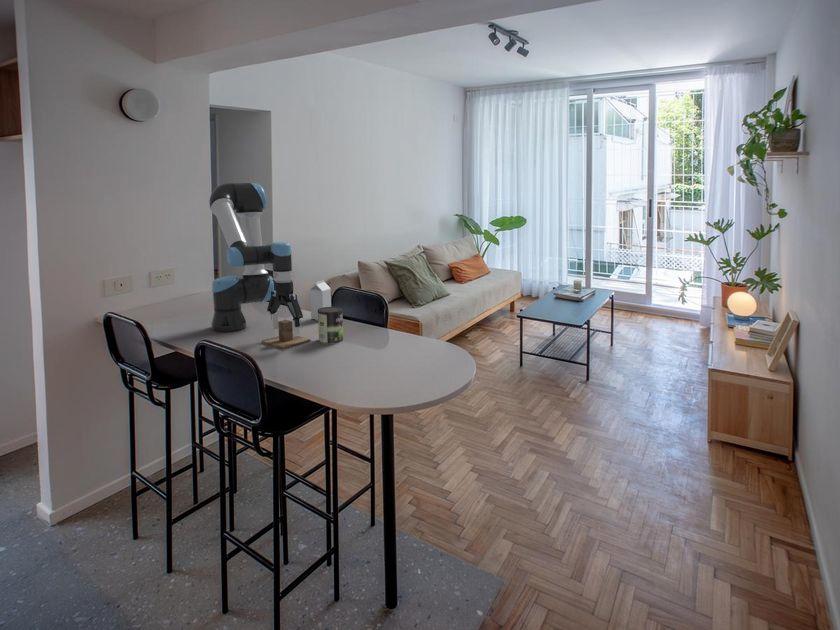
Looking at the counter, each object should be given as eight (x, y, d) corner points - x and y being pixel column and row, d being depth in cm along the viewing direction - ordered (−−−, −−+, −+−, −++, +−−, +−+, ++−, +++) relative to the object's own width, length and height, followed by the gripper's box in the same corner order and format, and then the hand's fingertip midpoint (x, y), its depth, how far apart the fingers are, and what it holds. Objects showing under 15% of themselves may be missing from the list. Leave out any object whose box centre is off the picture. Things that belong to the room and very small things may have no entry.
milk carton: (331, 318, 269) (330, 280, 265) (323, 321, 263) (322, 282, 259) (319, 316, 272) (318, 279, 268) (311, 319, 266) (309, 281, 261)
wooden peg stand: (261, 342, 226) (260, 321, 224) (289, 335, 237) (288, 315, 235) (283, 349, 218) (281, 327, 216) (310, 341, 228) (309, 320, 226)
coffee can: (346, 339, 235) (345, 307, 231) (338, 346, 225) (337, 312, 222) (324, 337, 237) (322, 305, 233) (314, 344, 227) (313, 311, 224)
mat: (256, 344, 226) (256, 343, 226) (289, 335, 239) (289, 334, 239) (282, 352, 216) (282, 351, 216) (315, 342, 229) (315, 341, 229)
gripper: (256, 278, 226) (259, 328, 231) (295, 286, 211) (298, 339, 216) (271, 276, 231) (274, 324, 237) (310, 283, 216) (312, 334, 222)
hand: (285, 331), depth 226 cm, fingers open, 13 cm apart
